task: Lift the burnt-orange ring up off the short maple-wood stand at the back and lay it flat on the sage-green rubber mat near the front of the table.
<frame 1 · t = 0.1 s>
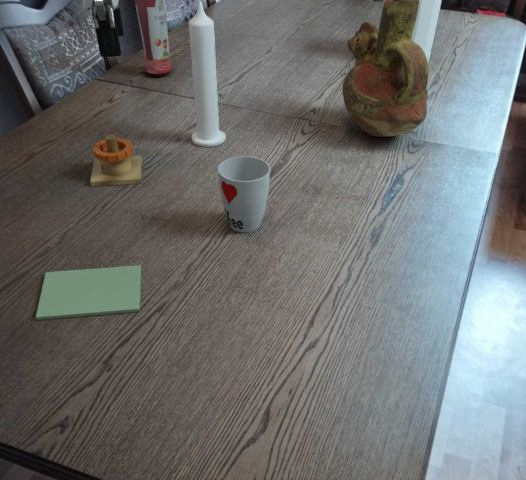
hand: (112, 45, 89), 22 cm above the table, tool pointing down, fingers open, 9 cm apart
container: (402, 59, 148), on the table
ring: (113, 152, 101), point 4 cm above the table, touching stand
ceramic vessel: (375, 129, 118), on the table
candle: (208, 140, 114), on the table
cup: (245, 224, 92), on the table
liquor: (159, 74, 139), on the table
mat: (91, 292, 79), on the table
stand: (117, 173, 104), on the table
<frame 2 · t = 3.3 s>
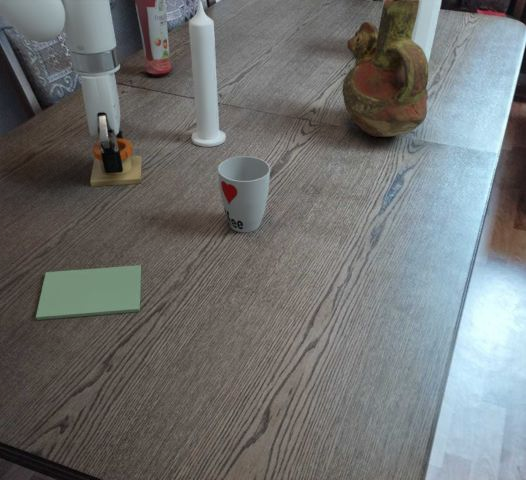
hand: (115, 161, 102), 2 cm above the table, tool pointing down, fingers closed on ring, 7 cm apart
ring: (113, 152, 101), point 4 cm above the table, touching gripper, stand
everything else where it was.
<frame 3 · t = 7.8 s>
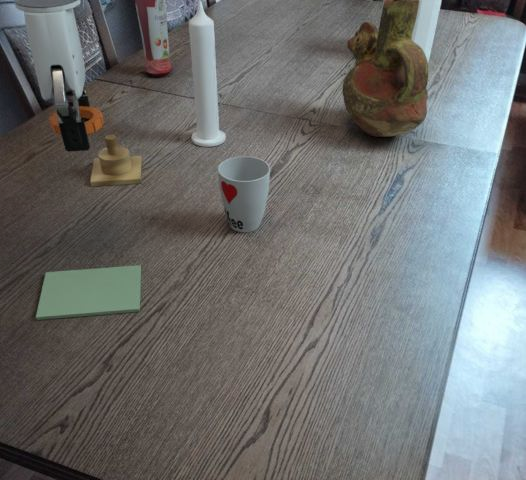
hand: (80, 136, 77), 17 cm above the table, tool pointing down, fingers closed on ring, 7 cm apart
ring: (77, 125, 76), point 18 cm above the table, touching gripper
everything else where it was.
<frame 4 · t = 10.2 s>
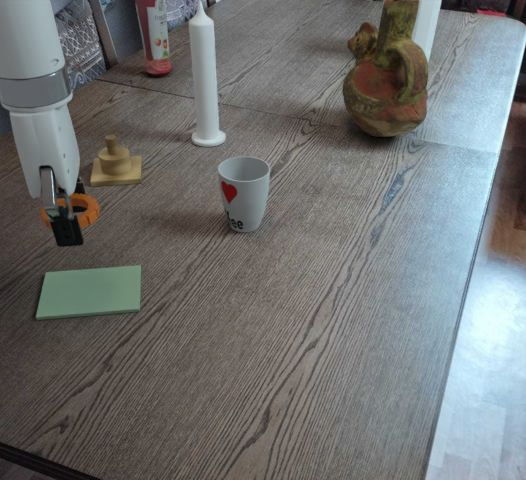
hand: (74, 226, 71), 11 cm above the table, tool pointing down, fingers closed on ring, 7 cm apart
ring: (71, 215, 70), point 13 cm above the table, touching gripper
everything else where it was.
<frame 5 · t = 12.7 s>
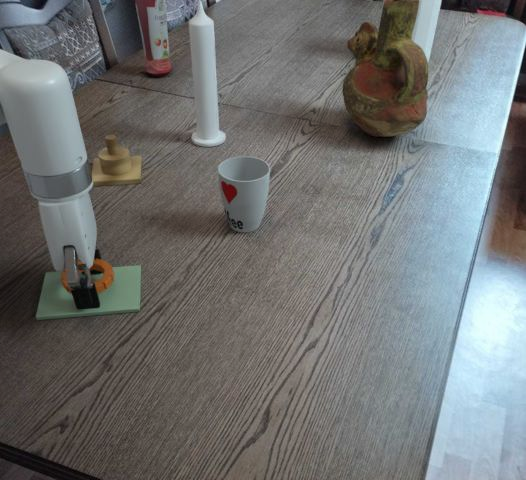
hand: (91, 288, 79), 1 cm above the table, tool pointing down, fingers closed on ring, 7 cm apart
ring: (88, 280, 78), point 2 cm above the table, touching gripper
everything else where it was.
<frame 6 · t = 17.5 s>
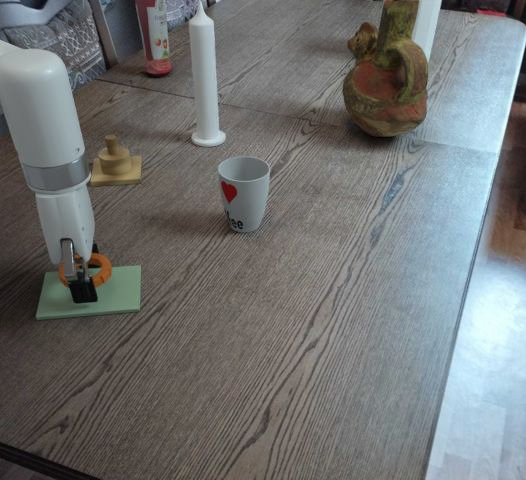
hand: (88, 283, 78), 2 cm above the table, tool pointing down, fingers closed on ring, 7 cm apart
ring: (86, 274, 77), point 3 cm above the table, touching gripper
everything else where it was.
when the fingers open (2 cm above the table, at t = 21.8 s): ring drops 3 cm, resting on mat.
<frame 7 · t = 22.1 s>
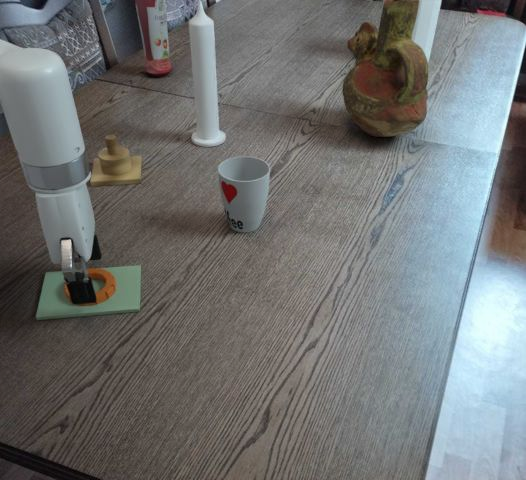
hand: (88, 279, 78), 2 cm above the table, tool pointing down, fingers open, 9 cm apart
ring: (91, 289, 79), point 1 cm above the table, touching mat
everything else where it was.
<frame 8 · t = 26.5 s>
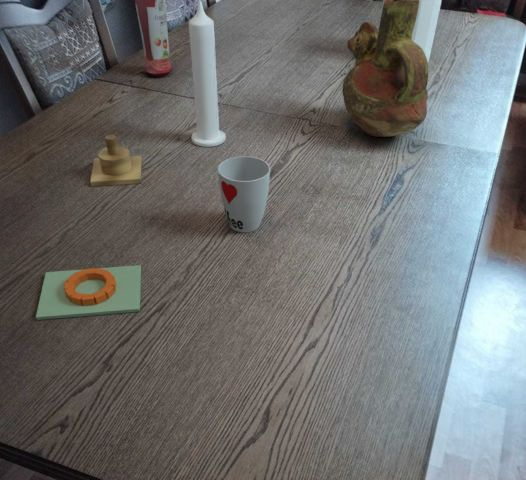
nothing on the table moved.
at the end: ring inside the target area on the mat (0.1 cm from its centre), point 0.6 cm above the mat's base; ring tilted 0°; ring touching mat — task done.
